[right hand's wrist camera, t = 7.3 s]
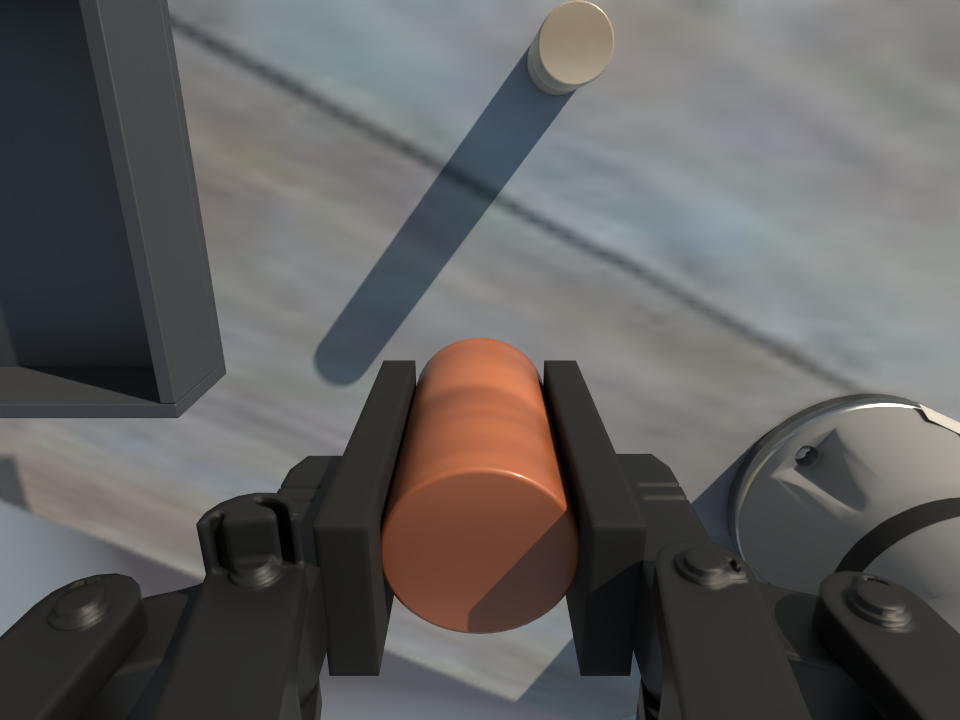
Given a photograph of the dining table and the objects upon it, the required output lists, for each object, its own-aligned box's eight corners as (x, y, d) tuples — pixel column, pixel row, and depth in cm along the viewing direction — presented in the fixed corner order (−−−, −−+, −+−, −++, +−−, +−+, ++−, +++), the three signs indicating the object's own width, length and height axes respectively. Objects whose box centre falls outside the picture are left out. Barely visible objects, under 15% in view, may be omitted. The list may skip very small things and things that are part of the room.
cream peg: (587, 95, 31) (611, 86, 25) (526, 95, 31) (536, 85, 25) (591, 25, 30) (617, -1, 24) (527, 25, 30) (538, -1, 24)
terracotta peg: (540, 453, 16) (576, 636, 10) (417, 453, 15) (382, 635, 10) (546, 337, 14) (589, 469, 9) (413, 336, 14) (370, 468, 9)
